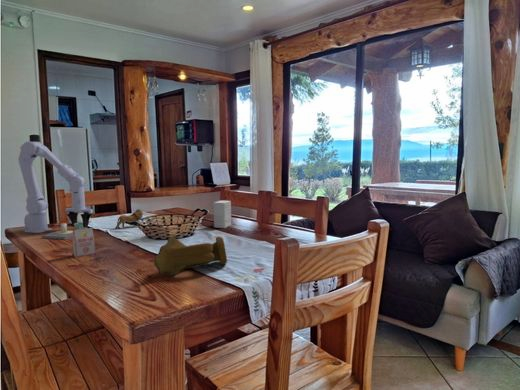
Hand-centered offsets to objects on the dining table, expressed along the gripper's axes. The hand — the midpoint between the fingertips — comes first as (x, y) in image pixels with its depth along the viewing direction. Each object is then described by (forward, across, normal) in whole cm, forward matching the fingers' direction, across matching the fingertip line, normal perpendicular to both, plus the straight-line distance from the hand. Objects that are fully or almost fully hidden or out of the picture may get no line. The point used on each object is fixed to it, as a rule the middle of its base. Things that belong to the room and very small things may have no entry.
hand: (80, 226), depth 182 cm
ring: (+1, 0, 0) cm, 1 cm away
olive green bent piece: (+2, -80, +44) cm, 92 cm away
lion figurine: (+2, -21, -10) cm, 24 cm away
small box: (+2, -68, -22) cm, 71 cm away
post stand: (+1, -1, +12) cm, 12 cm away
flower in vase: (+2, +10, -12) cm, 16 cm away
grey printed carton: (+2, -32, +37) cm, 49 cm away
